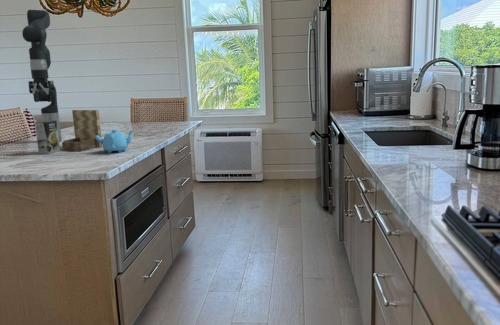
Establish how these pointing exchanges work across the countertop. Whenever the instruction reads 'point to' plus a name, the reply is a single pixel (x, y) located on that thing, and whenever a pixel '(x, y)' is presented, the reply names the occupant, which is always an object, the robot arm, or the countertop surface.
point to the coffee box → (47, 137)
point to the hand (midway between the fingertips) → (43, 101)
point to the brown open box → (78, 144)
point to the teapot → (115, 141)
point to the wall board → (87, 125)
